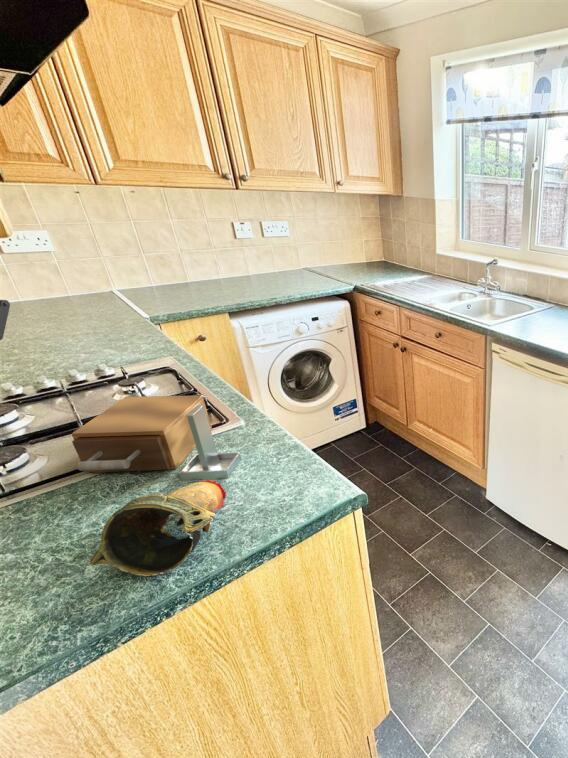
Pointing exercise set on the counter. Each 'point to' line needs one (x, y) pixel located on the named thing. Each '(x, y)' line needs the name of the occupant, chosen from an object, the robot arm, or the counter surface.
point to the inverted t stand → (207, 452)
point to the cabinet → (149, 422)
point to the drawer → (121, 453)
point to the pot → (158, 529)
